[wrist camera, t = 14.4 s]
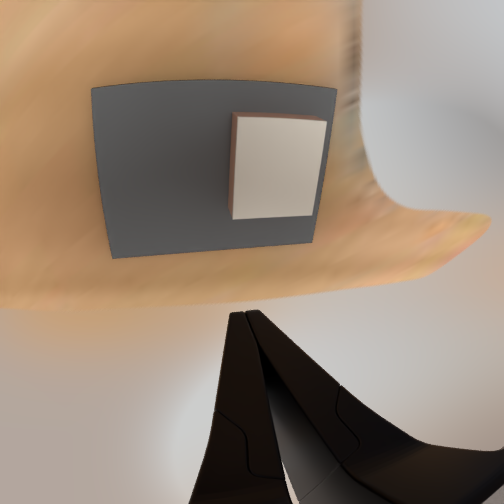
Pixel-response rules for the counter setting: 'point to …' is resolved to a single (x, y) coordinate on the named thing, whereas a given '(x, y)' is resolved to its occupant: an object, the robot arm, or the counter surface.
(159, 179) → the mat
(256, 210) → the tile
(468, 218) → the counter surface
